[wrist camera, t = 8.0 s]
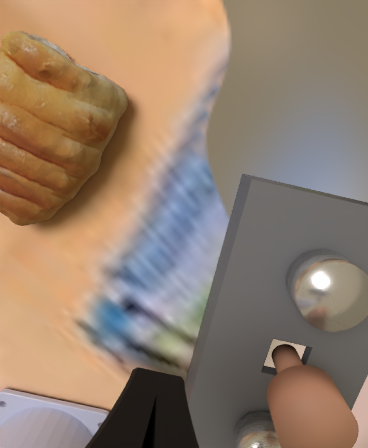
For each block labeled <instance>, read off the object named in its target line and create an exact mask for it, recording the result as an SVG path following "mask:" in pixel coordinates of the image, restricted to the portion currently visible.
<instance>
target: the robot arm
mask: <svg viewBox="0 0 368 448" xmlns="http://www.w3.org/2000/svg"><path fill="white" fill-rule="evenodd" d="M101 422H102V423H101ZM0 448H199V445H198V442H197V438H196V435H195V431H194V427H193V423H192V419H191V415H190V411H189V407H188V402H187V397H186V391H185V385H184V380H183V379H182V377H180V376H175V375H170V374H166V373H161V372H157V371H152V370H148V369H143V368H138V367H137V368H135V369H134V370H133V371H132V373H131V376H130V378H129V380H128V382H127V384H126V386H125V388H124V390H123V391H122V393H121V395H120V397H119V398H118V400H117V401H116V403H115V405H114V406H113V408H112V410H111V411H110V413H109V412H108V411H107V410H103V409H99V408H94V407H89V406H85V405H80V404H75V403H71V402H66V401H62V400H57V399H52V398H48V397H43V396H38V395H34V394H29V393H24V392H20V391H15V390H11V389H2V390H1V391H0Z"/></svg>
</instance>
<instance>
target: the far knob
mask: <svg viewBox="0 0 368 448" xmlns="http://www.w3.org/2000/svg"><path fill="white" fill-rule="evenodd" d="M233 436H234V444H235V448H281V446H280V444H279V441H278V438H277V434H276V431H275V427H274V423H273V420H272V416H271V413H270V412H266V411H257V412H252V413H250V412H247V414H246V415H245V416H243V417H242V418H241V419H240V420H239V421H238V422H237V423H236V425H235V427H234V431H233Z"/></svg>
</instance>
